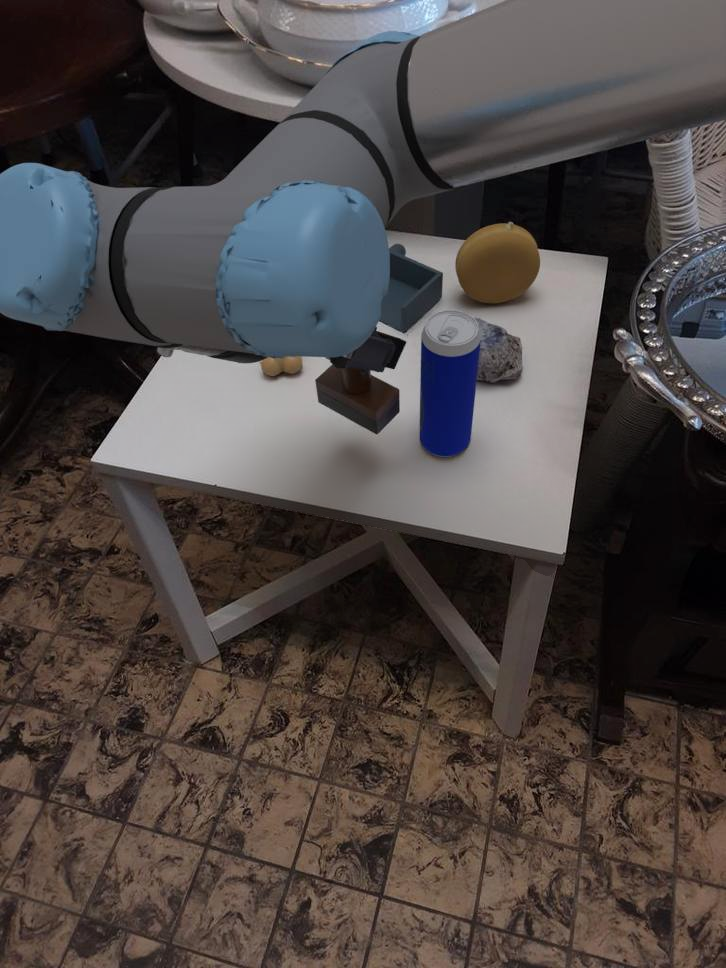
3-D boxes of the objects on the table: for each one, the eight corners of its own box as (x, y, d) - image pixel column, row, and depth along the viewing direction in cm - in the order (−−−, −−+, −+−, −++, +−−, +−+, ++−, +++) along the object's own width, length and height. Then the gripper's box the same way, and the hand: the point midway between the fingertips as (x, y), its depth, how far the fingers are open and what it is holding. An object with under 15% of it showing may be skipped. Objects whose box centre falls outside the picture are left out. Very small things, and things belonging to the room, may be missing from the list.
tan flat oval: (530, 284, 92) (542, 210, 84) (536, 305, 90) (549, 231, 82) (452, 291, 92) (456, 218, 84) (456, 311, 90) (461, 238, 82)
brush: (400, 412, 71) (398, 289, 60) (377, 435, 70) (370, 314, 59) (341, 380, 74) (329, 258, 63) (318, 402, 73) (301, 281, 61)
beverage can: (434, 414, 80) (439, 300, 68) (479, 433, 79) (492, 319, 67) (410, 448, 78) (410, 335, 66) (455, 467, 76) (465, 355, 64)
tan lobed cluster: (316, 360, 86) (314, 344, 84) (284, 389, 84) (281, 373, 82) (280, 341, 88) (278, 325, 86) (248, 368, 86) (244, 352, 84)
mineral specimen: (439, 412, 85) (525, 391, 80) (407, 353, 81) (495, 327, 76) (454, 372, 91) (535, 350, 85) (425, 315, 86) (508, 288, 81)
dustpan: (404, 333, 88) (404, 307, 85) (299, 282, 94) (295, 256, 92) (456, 284, 93) (457, 259, 90) (352, 239, 99) (350, 213, 96)
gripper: (117, 307, 53) (301, 350, 74) (286, 404, 47) (436, 421, 68) (154, 202, 52) (332, 276, 72) (335, 287, 45) (473, 342, 66)
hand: (382, 346), depth 70 cm, fingers closed on brush, 3 cm apart
